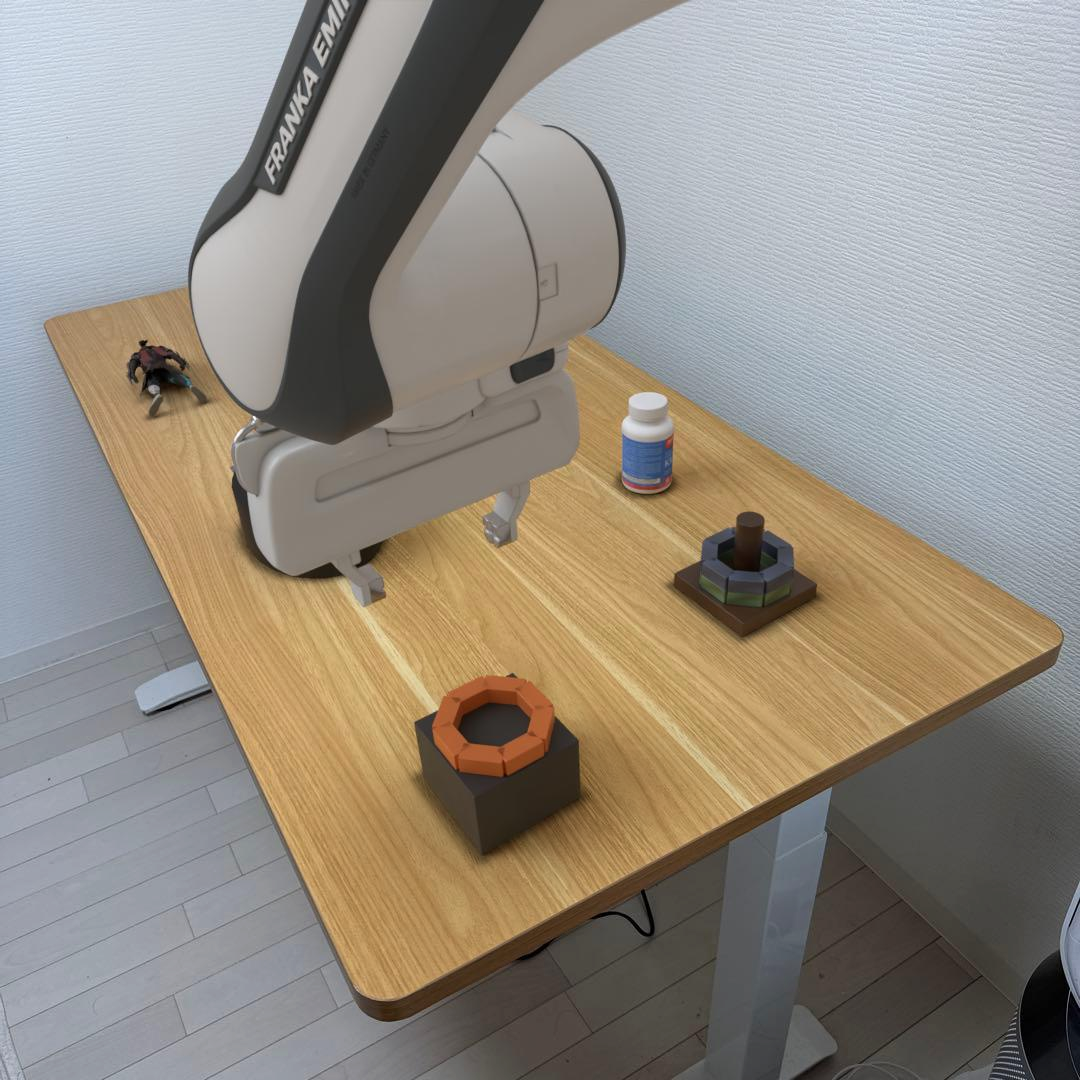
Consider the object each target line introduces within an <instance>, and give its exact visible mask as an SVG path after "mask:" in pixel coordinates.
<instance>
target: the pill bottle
mask: <svg viewBox="0 0 1080 1080" xmlns="http://www.w3.org/2000/svg"><path fill="white" fill-rule="evenodd" d="M627 411H628V414H627V416H625V418H624V419H623V421H622V423H621V482H622V484H623V486H624V487H625V488H626V489H627V490H628V491H631V492H634V493H637V494H642V495H643V494H644V495H651V494H653V495H654V494H657V493H658V494H659V493H661V492H663V491H665V490H667V489H668V488H669V487H670V485H672V481H673V464H674V463H673V461H674V460H673V459H674V437H675V436H674V434H675V433H674V432H675V429H674V428H675V425H674V422H673V419H672V418H671V417H670V415H668V412H669V401H668V397H666V396H665V395H663V394H662V393H658V392H653V391H644V392H639V393H635V394H633V395H631V396H630V397H629V398H628V409H627Z"/></svg>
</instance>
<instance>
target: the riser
mask: <svg viewBox="0 0 1080 1080" xmlns="http://www.w3.org/2000/svg"><path fill="white" fill-rule="evenodd" d="M504 677H512V678H518V676H517V675H516V674H515V673H513V672H511V673H509V674H507V675H506V676H504ZM437 712H438V709H437V710H435V711H433V712H431V713H430V714H427V715H425V716H423V717H421V718H419V719H417V720H415V721H413V725H414V730H415V736H416V741H417V748H418V754H419V759H420V765H421V770H422V775H423V776H422V777H423V779H424V781H425V782H426V783H427V785H428V786H429V787H430V789H431V790H432V792H433V793H434V794H435V795H436V797H437V798H438V799H439V800H440V802H441V803H442V804H443V806H444V807H445V809H446V810H447V812H449V813H450V815H451V816H452V818H453V819H454V820H455V822H456V824H458V826H459V827H460V828H461V830H462V831H463V832H464V833H465V835H466V836H467V837H468V839H469V840H470V841H471V843H472V844H473V845H474V847H475V848H476V850H477V851H478V852H479V853H480V855H481V856H483V855H486V854H487V853H489V852H490V851H492V850H494V849H495V848H498V846H500V845H503V844H504V843H505V842H507V841H509V840H510V839H513V838H514V837H516V836H517V835H519V834H521V833H523V832H525V831H526V830H528V829H529V828H531V827H533V826H535V825H536V824H538V823H540V822H541V821H544V820H545V819H547V818H548V817H551V816H552V815H553V814H555V813H557V812H558V811H560V810H562V809H563V808H566V807H567V806H569V805H571V804H572V803H573V802H576V801H577V800H579V799H580V798H582V793H581V792H582V790H581V788H582V787H581V765H580V764H581V763H580V740H579V738H577V737H576V736H575V735H574V733H572V732H571V730H570V729H569V728H567V727H566V725H565V724H564V723H562V721H561V720H560V719H559V718H558V717H557V716H556V715H555V723H554V727H553V731H552V735H551V739H550V743H549V747H548V752H547V753H545V752H544V756H543V757H541V758H539V759H538V760H536V761H534V762H532V763H530V764H529V765H527V766H525V767H523V768H521V769H520V770H518V771H516V772H514V773H512V774H510V775H509V776H507V775H506V773H504V776H503V777H498V776H489V775H481V774H472V773H464V772H460V769H458V770H456V769H455V768H454V767H453V766H452V764H451V763H450V762H449V761H448V759H447V758H446V757H445V756H444V754H443V753H442V752H441V751H440V749H439V748H438V747H437V746H436V745H435V742H434V736H433V729H432V725H433V722H434V720H435V717H436V715H437ZM530 721H531V718H530V717H529V716H528V715H527V714H526V713H525V712H524V711H523V710H522V709H521V708H520V707H519V706H518V705H509V704H500V703H490V702H488V703H486V704H484V705H482V706H480V707H478V708H476V709H474V710H472V711H470V712H468V713H466V714H464V715H463V716H462V719H461V722H460V724H459V727H458V731H459V732H460V734H461V735H462V736H463V737H464V738H465V739H466V741H467V742H468V743H470V744H479V745H488V746H497V747H501V746H503V745H505V744H507V743H509V742H511V741H513V740H515V739H516V738H518V737H520V736H522V735H524V734H526V733H527V732H528V728H529V724H530Z"/></svg>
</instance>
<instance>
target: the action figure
mask: <svg viewBox="0 0 1080 1080" xmlns="http://www.w3.org/2000/svg"><path fill="white" fill-rule="evenodd" d="M148 342H149V339H145V340H144V339H142V340H141V339H139V340H138V345H139V346H140V349H139V350H138V351H136V352H133V353H132V354H131V355H130V359H129V361H128V362H127V363H126V369H127V371H126V374H127V375H126V377H127V379H128V381H129V384H130V385H131V386H134V384H133V382H134V383H135V384H139V383H140V381H139V378H138V376H136V371H137V369H138V368H140V369H141V370H142V375H141V376H143V375H144V377H143V380H142V384H141V385H142V386H141V392H140V394H139V396H140V397H142V394H143V393H144V391H145V390H146V389H147V391H148V392H149V393H150V394H151V395H152V397H153V400H152V402H151V404H150V405H149V408H148V415H149V416H152V417H153V416H155V415H156V414H158V412H159V410H160V407H161V405H162V403H163V401H164V397H163V396H162V394H161V387H162V385H164V384H167V383H172V384H175V385H177V386H180V387H183V388H186V389H188V390H189V391H190V392H191V393H192V394H193V395H194V396H195V397H196V399H197V400H198V401H199V402H200V403H202V404H206V403H207V401H208V397H207V396H206V394H205V393H204V392H203V391H201V390H200V389H199V388H198V387H197V386H196V385H194V384H193V383H192V382H191V381H190V379H191V377H190V376H187V375H185V374H184V373H183V372H185V369H187V370H188V372H190V364H189V363H188V362H187V360H186V357H181V355H180V353H179V352H178V351H177V350H175V351H174V350H173V349H171V348H168V347H166V346H165V345H158V346H156V345H147V344H148ZM167 360H173V361H174V362H176V363H177V364H179V369H178V368H177V367H175V366H173V365H171V364H169V363H168V362H167Z"/></svg>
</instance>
